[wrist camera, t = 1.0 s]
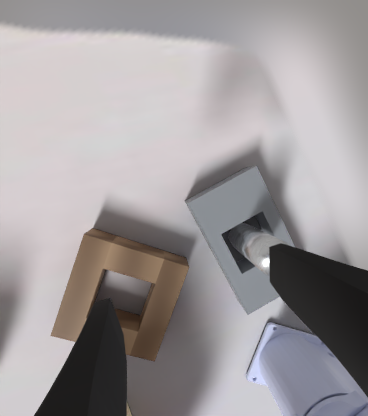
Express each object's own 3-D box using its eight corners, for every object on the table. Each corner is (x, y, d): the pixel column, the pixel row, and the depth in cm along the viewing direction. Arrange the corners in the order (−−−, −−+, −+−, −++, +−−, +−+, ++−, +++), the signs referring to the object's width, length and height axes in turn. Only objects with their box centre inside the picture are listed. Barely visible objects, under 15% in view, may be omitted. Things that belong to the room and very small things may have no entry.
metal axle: (258, 227, 27) (299, 246, 19) (249, 252, 28) (285, 281, 20) (234, 219, 27) (265, 234, 19) (224, 244, 27) (251, 270, 19)
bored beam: (294, 268, 28) (310, 278, 25) (238, 300, 28) (247, 314, 25) (245, 167, 26) (256, 165, 23) (184, 200, 26) (188, 203, 23)
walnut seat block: (186, 257, 27) (189, 266, 24) (155, 342, 28) (154, 361, 25) (92, 228, 25) (83, 234, 22) (63, 318, 26) (50, 335, 23)
